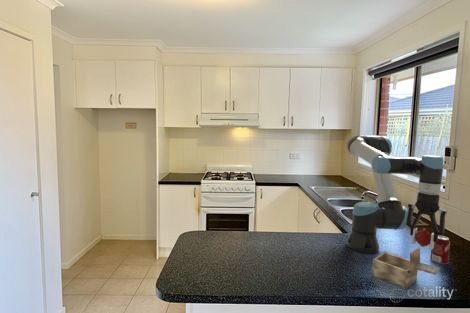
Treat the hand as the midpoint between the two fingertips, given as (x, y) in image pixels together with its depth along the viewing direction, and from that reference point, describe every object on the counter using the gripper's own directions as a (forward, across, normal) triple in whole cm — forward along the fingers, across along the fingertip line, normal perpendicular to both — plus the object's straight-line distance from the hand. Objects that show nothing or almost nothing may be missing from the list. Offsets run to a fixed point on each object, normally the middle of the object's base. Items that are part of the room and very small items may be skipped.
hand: (422, 245), depth 118 cm
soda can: (+13, +3, +20) cm, 23 cm away
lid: (+1, +1, -13) cm, 13 cm away
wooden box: (+12, -5, -14) cm, 19 cm away
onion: (+1, 0, 0) cm, 1 cm away
